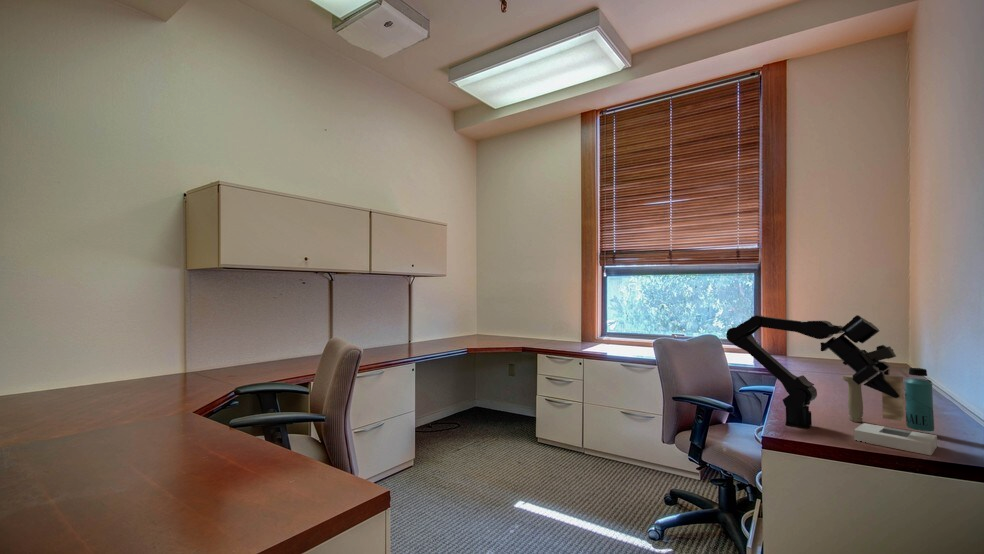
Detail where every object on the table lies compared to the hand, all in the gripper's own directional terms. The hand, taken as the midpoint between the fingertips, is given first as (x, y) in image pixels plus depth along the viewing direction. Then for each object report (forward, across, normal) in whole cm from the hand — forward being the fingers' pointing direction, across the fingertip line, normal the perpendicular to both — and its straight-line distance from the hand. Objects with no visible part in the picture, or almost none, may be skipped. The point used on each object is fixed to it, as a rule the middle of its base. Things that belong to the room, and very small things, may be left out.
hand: (899, 396), depth 126 cm
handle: (0, +21, +20) cm, 29 cm away
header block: (+9, 0, +10) cm, 14 cm away
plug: (+4, 0, +6) cm, 7 cm away
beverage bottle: (+11, +20, +8) cm, 24 cm away
